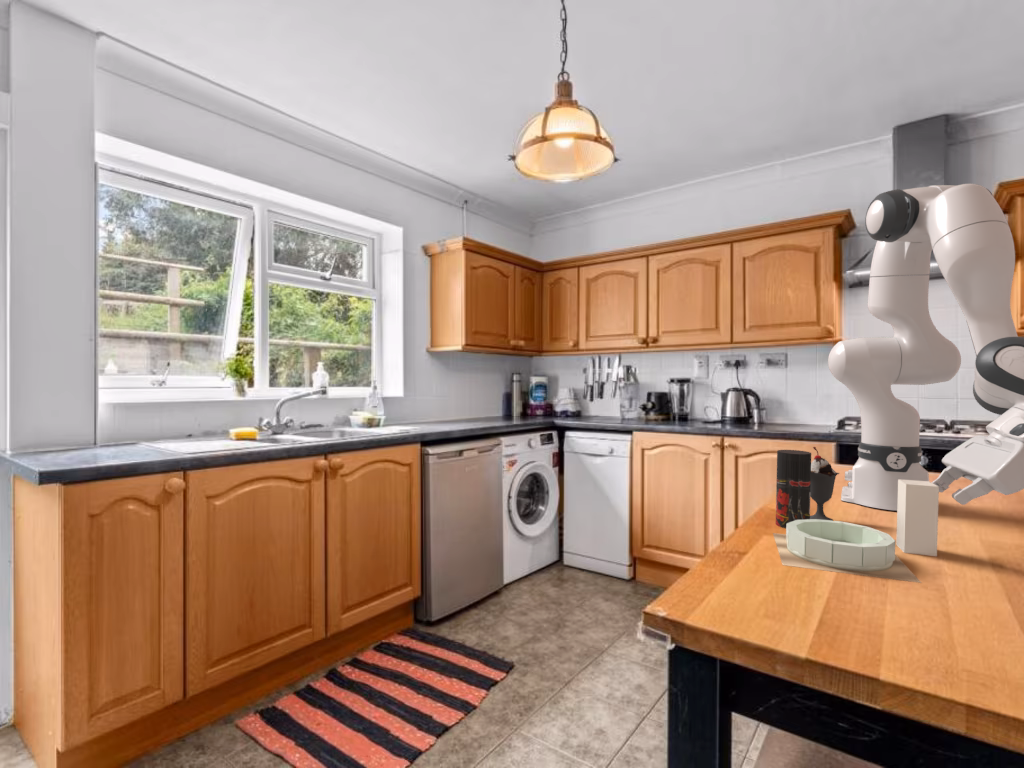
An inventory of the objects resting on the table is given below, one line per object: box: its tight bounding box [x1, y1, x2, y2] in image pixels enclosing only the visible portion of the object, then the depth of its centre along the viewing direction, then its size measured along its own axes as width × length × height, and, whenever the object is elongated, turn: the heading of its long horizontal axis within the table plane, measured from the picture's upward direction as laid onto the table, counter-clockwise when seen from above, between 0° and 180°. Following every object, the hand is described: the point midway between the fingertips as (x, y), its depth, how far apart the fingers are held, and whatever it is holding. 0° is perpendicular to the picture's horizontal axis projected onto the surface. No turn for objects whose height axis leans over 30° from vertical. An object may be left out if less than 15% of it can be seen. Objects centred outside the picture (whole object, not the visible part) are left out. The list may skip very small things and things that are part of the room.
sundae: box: [810, 446, 840, 521], centre depth 112 cm, size 7×7×15 cm
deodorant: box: [775, 449, 812, 530], centre depth 106 cm, size 6×6×15 cm
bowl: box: [785, 519, 896, 571], centre depth 89 cm, size 15×15×4 cm
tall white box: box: [895, 479, 940, 557], centre depth 92 cm, size 4×4×12 cm
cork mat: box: [772, 532, 922, 584], centre depth 89 cm, size 18×18×1 cm
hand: (945, 494), depth 90 cm, fingers open, 8 cm apart
